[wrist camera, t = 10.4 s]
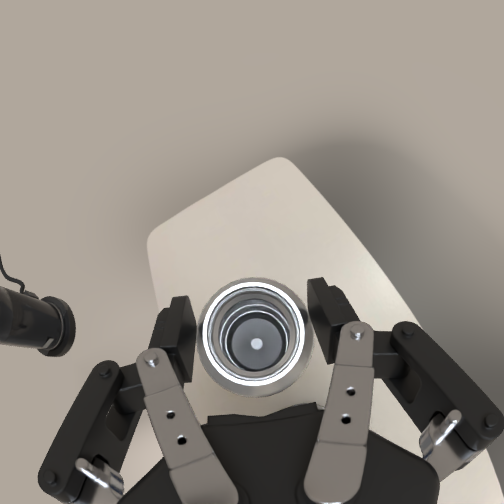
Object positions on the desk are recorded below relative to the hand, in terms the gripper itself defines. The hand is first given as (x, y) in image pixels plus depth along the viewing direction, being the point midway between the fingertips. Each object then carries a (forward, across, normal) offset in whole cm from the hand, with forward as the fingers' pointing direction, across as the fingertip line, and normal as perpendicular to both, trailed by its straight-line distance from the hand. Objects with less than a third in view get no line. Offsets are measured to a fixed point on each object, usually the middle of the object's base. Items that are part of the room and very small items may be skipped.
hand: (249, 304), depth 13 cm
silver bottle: (+10, 0, +13) cm, 17 cm away
